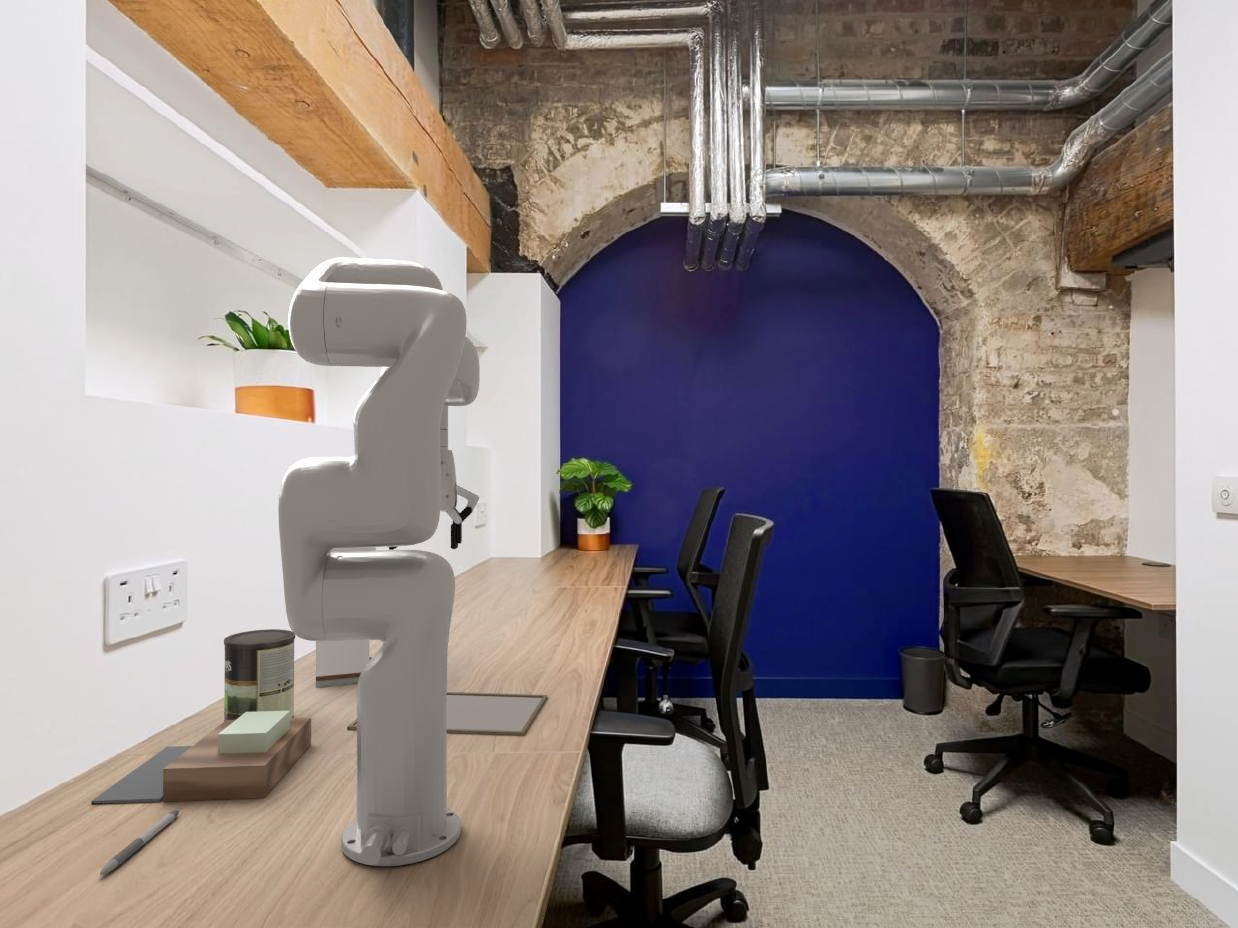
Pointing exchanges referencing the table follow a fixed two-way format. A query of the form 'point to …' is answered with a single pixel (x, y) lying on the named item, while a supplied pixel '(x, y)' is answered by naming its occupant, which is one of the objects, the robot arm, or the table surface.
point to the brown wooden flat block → (233, 767)
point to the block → (254, 732)
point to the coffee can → (259, 672)
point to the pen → (139, 842)
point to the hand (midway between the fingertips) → (423, 548)
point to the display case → (341, 653)
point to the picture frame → (489, 713)
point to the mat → (142, 780)
